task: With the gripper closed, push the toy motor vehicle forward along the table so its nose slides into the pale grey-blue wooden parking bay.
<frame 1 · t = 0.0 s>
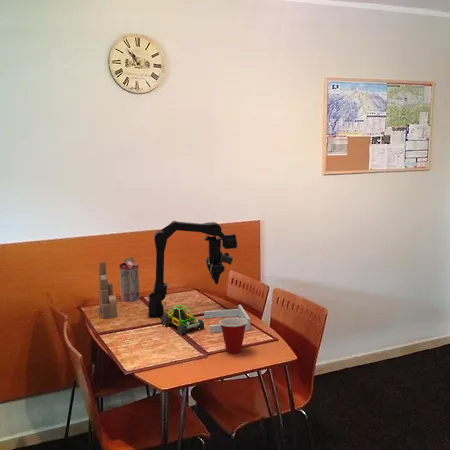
hand: (214, 281, 227), 15 cm above the table, fingers open, 9 cm apart
plastic cup: (233, 350, 185), on the table
milk carton: (130, 300, 249), on the table
bay: (225, 323, 213), on the table
wooden toy: (108, 313, 229), on the table
motor vehicle: (182, 327, 210), on the table
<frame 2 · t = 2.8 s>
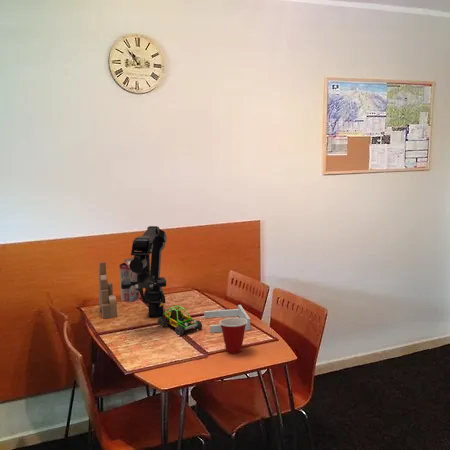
hand: (144, 302, 205), 12 cm above the table, fingers closed
motor vehicle: (179, 329, 209), on the table
everything else where it was.
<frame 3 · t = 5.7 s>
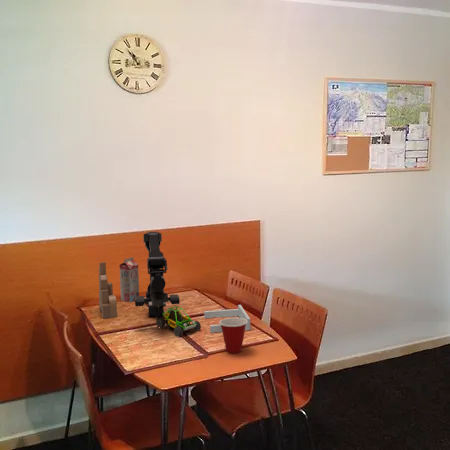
hand: (157, 319, 207), 4 cm above the table, fingers closed
motor vehicle: (178, 329, 208), on the table, touching gripper
everything else where it was.
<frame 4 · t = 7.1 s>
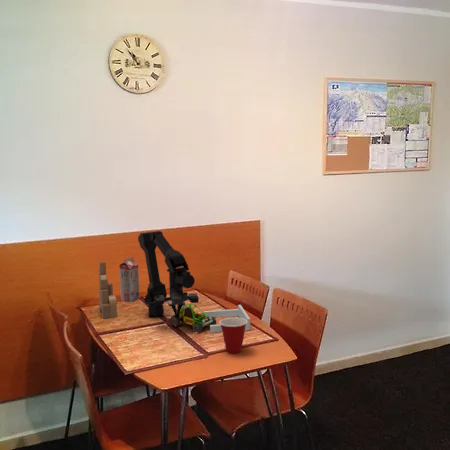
hand: (176, 318, 209), 4 cm above the table, fingers closed
motor vehicle: (193, 326, 212), on the table
everything else where it was.
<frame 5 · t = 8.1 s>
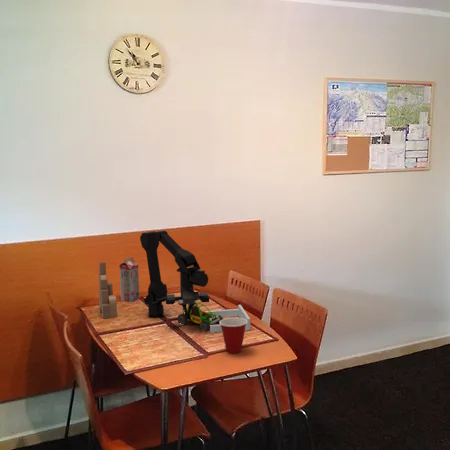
hand: (187, 317, 210), 4 cm above the table, fingers closed
motor vehicle: (200, 324, 213), on the table
everything else where it was.
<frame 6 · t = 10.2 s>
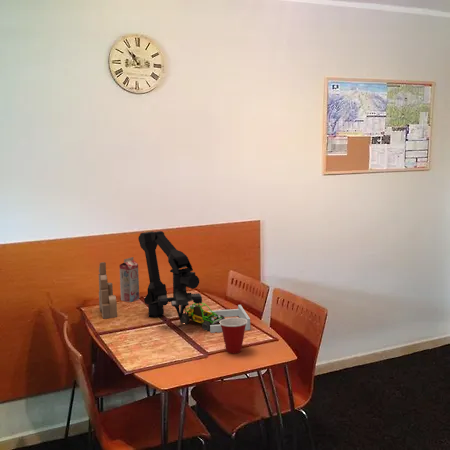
hand: (180, 318, 210), 4 cm above the table, fingers closed
nothing on the table moved.
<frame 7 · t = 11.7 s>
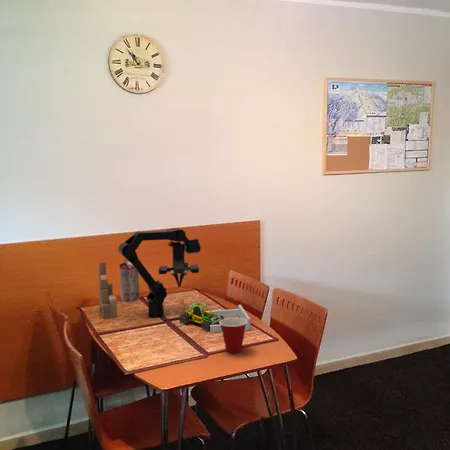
hand: (179, 286, 228), 12 cm above the table, fingers closed
nothing on the table moved.
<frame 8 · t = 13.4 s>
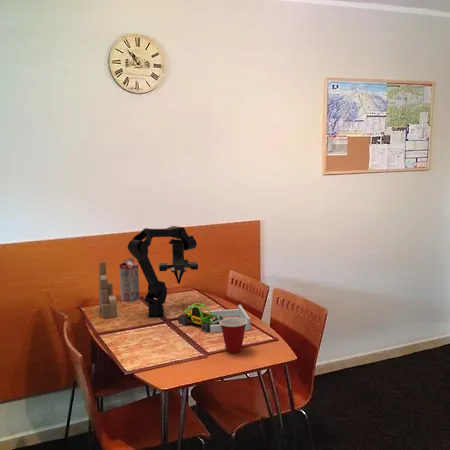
hand: (178, 283, 235), 12 cm above the table, fingers closed
motor vehicle: (200, 325, 212), on the table
everything else where it was.
at the end: motor vehicle inside the target area (5.4 cm from its centre), on the table; motor vehicle moved 8.3 cm from its start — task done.
